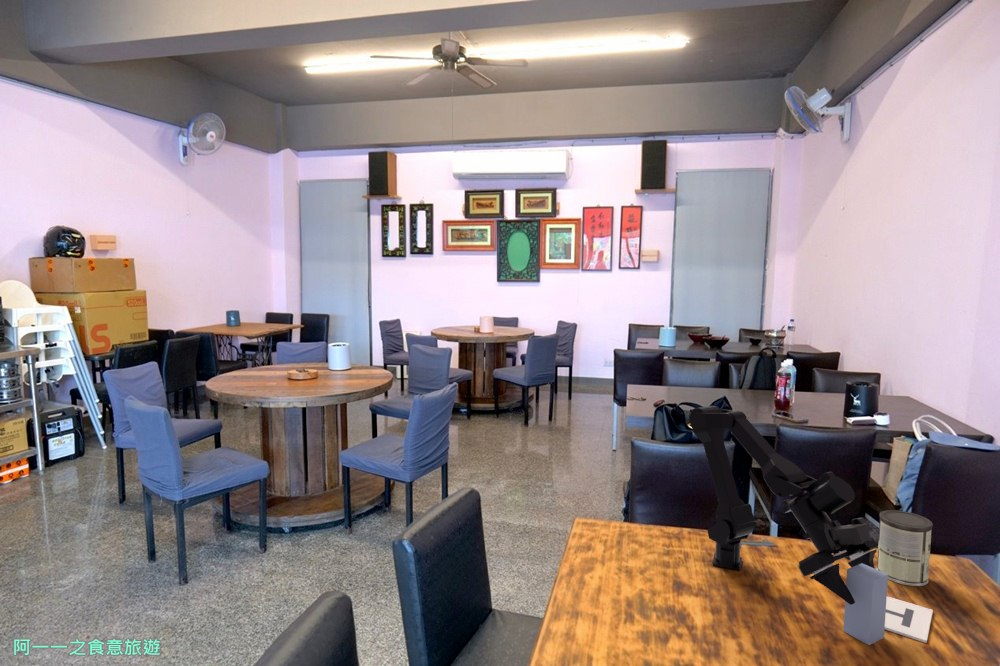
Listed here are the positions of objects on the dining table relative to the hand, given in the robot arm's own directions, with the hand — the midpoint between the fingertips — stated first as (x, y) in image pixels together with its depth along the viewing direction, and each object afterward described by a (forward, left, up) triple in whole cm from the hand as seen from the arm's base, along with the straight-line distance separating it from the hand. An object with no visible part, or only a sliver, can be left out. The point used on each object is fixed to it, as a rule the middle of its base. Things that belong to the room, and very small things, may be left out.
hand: (866, 597), depth 113 cm
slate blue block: (0, 0, -8) cm, 8 cm away
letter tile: (-11, +6, -8) cm, 14 cm away
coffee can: (-32, +11, -8) cm, 34 cm away
